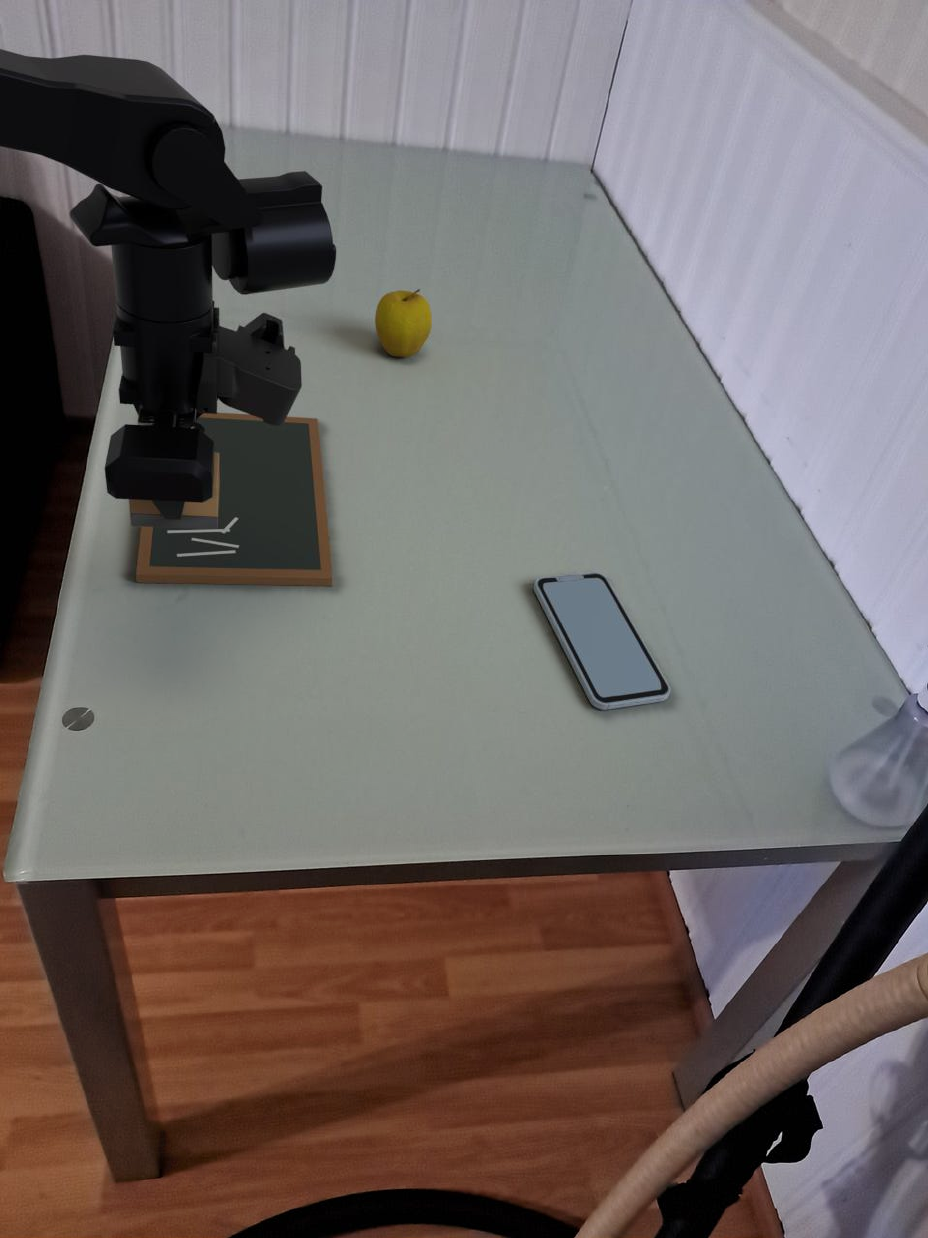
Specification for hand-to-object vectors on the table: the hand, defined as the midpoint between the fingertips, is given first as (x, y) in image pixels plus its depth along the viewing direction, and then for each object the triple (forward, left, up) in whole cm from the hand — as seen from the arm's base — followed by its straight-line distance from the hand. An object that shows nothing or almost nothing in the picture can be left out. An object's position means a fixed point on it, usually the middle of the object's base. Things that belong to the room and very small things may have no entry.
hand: (175, 499), depth 70 cm
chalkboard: (-4, +15, -11) cm, 19 cm away
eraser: (0, 0, -1) cm, 1 cm away
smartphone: (+32, +15, -11) cm, 37 cm away
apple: (-2, +49, -11) cm, 50 cm away
